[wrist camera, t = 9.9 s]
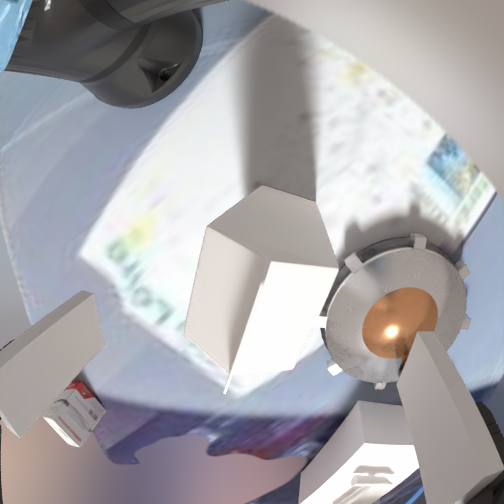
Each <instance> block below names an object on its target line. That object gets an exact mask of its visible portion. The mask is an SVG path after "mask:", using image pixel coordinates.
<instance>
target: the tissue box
mask: <svg viewBox="0 0 504 504" xmlns="http://www.w3.org/2000/svg"><path fill="white" fill-rule="evenodd" d="M418 468H419V464H418V460H417V456H416V452H415V448H414V444H413V440H412V436H411V433H410V429H409V425H408V422H407V418H406V415H405V411H404V408H403V406H400V405H391V404H382V403H374V402H367V401H360V400H358V401H357V403H356V404H355V406H354V407H353V409H352V410H351V411H350V413H349V414H348V416H347V417H346V418H345V420H344V421H343V422H342V424H341V425H340V426H339V428H338V429H337V430H336V432H335V433H334V434H333V436H332V437H331V438H330V439H329V441H328V442H327V443H326V444H325V446H324V447H323V448H322V449H321V451H320V452H319V453H318V454H317V455H316V456H315V458H314V459H313V460H312V461H311V462H310V463H309V465H308V466H307V467H306V468H305V469H304V470H303V471H302V472H301V481H300V493H299V504H372V503H373V502H375V501H376V500H378V499H379V498H380V497H382V496H383V495H385V494H386V493H387V492H389V491H390V490H391V489H393V488H394V487H395V486H397V485H398V484H399V483H401V482H402V481H403V480H404V479H406V478H407V477H408V476H409V475H410V474H412V473H413V472H414V471H415V470H416V469H418Z"/></svg>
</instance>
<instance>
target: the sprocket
mask: <svg viewBox="0 0 504 504" xmlns="http://www.w3.org/2000/svg"><path fill="white" fill-rule="evenodd" d="M426 241H427V238H426V237H425V236H423V235H422V234H416V233H410V238H409V244H408V245H398V246H392V247H389V248H385V249H382V250H380V251H377V252H375V253H373V254H371V255H369V256H367V257H366V258H364V259H363V260H361V259H360V258H359V257H358V255H357V254H356V253H355V252H353V253H352V254H351V255H350V256H348V257H347V258H346V259H345V263H346V265H347V267H348V268H349V269H350V270H349V271H348V272H347V273H346V275H345V276H344V277H343V278H342V279H341V280H340V282H339V283H338V285H337V286H336V288H335V289H334V291H333V293H332V295H331V297H330V300H329V303H328V305H327V309H326V310H321V313H320V315H319V317H318V319H317V321H316V323H315V326H314V327H322V328H325V336H326V343H327V347H328V350H329V353H330V355H331V357H332V358H331V359H330V360H328V361H327V369H328V370H329V371H330V372H331V373H332V374H333V375H335V374H337V373H339V372H340V371H342V370H343V371H344V372H345V373H347V374H349V375H350V376H352V377H354V378H357V379H359V380H362V381H366V382H373V385H374V389H384V388H385V386H386V383H389V382H395V381H398V380H399V378H400V375H401V373H402V370H403V368H404V366H405V363H406V361H407V358H408V356H409V353H410V350H411V348H412V345H413V342H414V339H415V337H416V334H417V331H432V332H434V333H435V334H436V336H437V338H438V339H439V341H440V342H441V344H442V346H443V347H444V349H445V350H446V351H447V350H448V349H449V348H450V346H451V345H452V344H453V342H454V341H455V339H456V337H457V335H458V334H459V331H460V329H468V327H469V324H470V321H471V319H470V318H469V316H468V315H467V314H466V313H465V312H466V302H467V299H466V290H465V286H464V283H463V280H464V279H465V278H466V277H467V276H468V275H469V274H470V271H469V269H468V267H467V265H466V264H465V263H463V262H462V261H461V260H459V261H458V262H457V263H456V264H455V265H454V266H453V265H452V264H451V263H450V262H449V261H448V260H446V259H445V258H444V257H443V256H441V255H440V254H439V253H437V252H435V251H433V250H431V249H429V248H426Z"/></svg>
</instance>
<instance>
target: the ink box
mask: <svg viewBox="0 0 504 504" xmlns="http://www.w3.org/2000/svg"><path fill="white" fill-rule="evenodd" d="M105 411H106V410H105V408H104V407H103V406H102V405H101V404H100V403H99V401H98V400H97V399H96V398H95V397H94V395H93V394H92V393H91V392H90V391H89V389H88V388H87V387H86V385H85V384H84V383H83V382H82V381H78V382H72V383H71V384H70V385H69V386H68V387H67V388H66V390H65V391H64V392H63V393H62V394H61V395H60V397H59V398H58V399H57V400H56V401H55V402H54V404H53V405H52V406H51V407H50V408H49V410H48V411H47V412H46V413H45V414H44V416H43V417H44V419H46V421H47V422H48V423H49V424H50V425H51V426H52V427H53V428H54V430H55V431H56V432H57V433H58V434H59V435H60V436H61V437H62V438H63V439H64V440H65V441H66V442H67V443H68V444H69V445H72V446H76V447H81V446H82V445H83V443H84V442H85V440H86V439H87V437H88V436H89V434H90V433H91V432H92V430H93V429H94V427H95V426H96V424H97V423H98V421H99V420H100V419H101V417H102V416H103V414H104V413H105Z"/></svg>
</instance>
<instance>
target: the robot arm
mask: <svg viewBox="0 0 504 504" xmlns="http://www.w3.org/2000/svg"><path fill="white" fill-rule="evenodd" d="M225 1H229V0H0V72H2V71H11V72H20V73H28V74H35V75H42V76H48V77H54V78H59V79H65V80H70V81H75V82H79V83H81V84H82V85H83V86H84V87H85V88H86V89H88V90H89V91H90V92H91V93H93V94H94V95H95V97H96V98H98V99H99V100H101V101H102V102H104V103H106V104H109V105H112V106H117V107H122V108H140V107H145V106H148V105H151V104H153V103H155V102H158V101H159V100H161V99H163V98H165V97H166V96H168V95H169V94H170V93H172V92H173V91H174V90H175V89H176V88H177V87H179V85H180V84H181V83H182V82H183V81H184V80H185V79H186V78H187V76H188V75H189V74H190V72H191V71H192V69H193V67H194V66H195V64H196V62H197V59H198V57H199V54H200V51H201V46H202V28H201V25H200V22H199V20H198V18H197V16H196V15H195V14H194V13H193V11H192V9H196V8H200V7H203V6H207V5H211V4H216V3H220V2H225ZM104 346H105V341H104V337H103V333H102V329H101V325H100V320H99V316H98V311H97V306H96V301H95V296H94V293H90V292H86V291H80V292H79V293H77V294H76V295H74V296H73V297H72V298H70V299H69V300H67V301H66V302H65V303H63V304H62V305H60V306H59V307H58V308H56V309H55V310H53V311H52V312H51V313H49V314H48V315H47V316H45V317H44V318H42V319H41V320H40V321H38V322H37V323H36V324H34V325H33V326H32V327H30V328H29V329H28V330H26V331H25V332H24V333H23V334H21V335H20V336H19V337H17V338H16V339H14V340H12V341H10V342H9V343H8V344H7V345H5V346H4V347H3V349H0V420H1V419H2V420H3V422H4V423H5V424H6V426H7V428H8V429H9V430H10V431H12V432H13V433H14V434H15V435H17V436H18V437H19V438H22V437H23V435H24V434H25V433H26V432H27V431H28V430H29V428H30V427H31V426H32V425H33V424H34V423H35V422H36V420H37V419H38V418H39V417H40V416H41V415H42V414H43V412H44V411H45V410H46V409H47V408H48V407H49V406H50V405H51V403H52V402H53V401H54V400H55V399H56V398H57V397H58V396H59V395H60V393H61V392H62V391H63V390H64V389H65V388H66V387H67V386H68V385H69V384H70V382H71V381H72V380H73V379H74V378H75V377H76V376H77V375H78V374H79V373H80V372H81V371H82V370H83V368H84V367H85V366H86V365H87V364H88V363H89V362H90V361H91V360H92V359H93V358H94V357H95V356H96V355H97V354H98V353H99V352H100V350H101V349H102V348H103V347H104ZM396 386H397V389H398V392H399V395H400V398H401V401H402V405H403V408H404V411H405V415H406V418H407V422H408V425H409V429H410V433H411V436H412V440H413V444H414V448H415V452H416V456H417V460H418V464H419V469H420V473H421V478H422V482H423V487H424V492H425V497H426V502H427V504H504V437H503V435H502V433H500V429H499V427H498V425H497V424H496V421H495V419H494V417H493V415H492V413H491V411H490V410H489V409H488V408H487V407H486V406H485V405H484V404H483V403H482V402H481V401H480V402H474V400H473V398H472V396H471V394H470V392H469V391H468V389H467V387H466V385H465V383H464V381H463V380H462V378H461V376H460V374H459V373H458V371H457V369H456V367H455V366H454V364H453V362H452V360H451V359H450V357H449V355H448V354H447V352H446V350H445V349H444V347H443V346H442V344H441V342H440V341H439V339H438V338H437V336H436V334H435V333H434V332H432V331H417V334H416V337H415V339H414V342H413V345H412V348H411V350H410V353H409V356H408V358H407V361H406V363H405V366H404V368H403V370H402V373H401V375H400V378H399V380H398V382H397V384H396ZM0 452H1V425H0ZM0 455H1V453H0ZM0 459H1V456H0ZM0 461H1V460H0ZM0 464H1V462H0ZM0 504H3V501H2V488H1V465H0Z"/></svg>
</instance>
